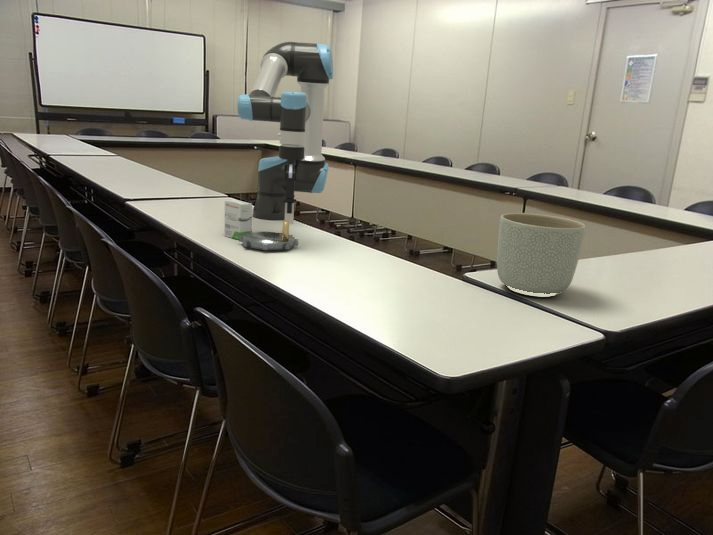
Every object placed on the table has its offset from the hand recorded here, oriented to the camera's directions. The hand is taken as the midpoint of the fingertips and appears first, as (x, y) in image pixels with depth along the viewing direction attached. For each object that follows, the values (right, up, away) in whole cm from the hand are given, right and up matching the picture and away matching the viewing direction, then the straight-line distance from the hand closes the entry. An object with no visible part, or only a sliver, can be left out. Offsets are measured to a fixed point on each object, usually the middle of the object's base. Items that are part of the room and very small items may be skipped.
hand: (288, 222), depth 178 cm
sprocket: (-6, -7, 0) cm, 10 cm away
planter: (+67, -20, -27) cm, 75 cm away
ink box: (-18, -4, +9) cm, 20 cm away
